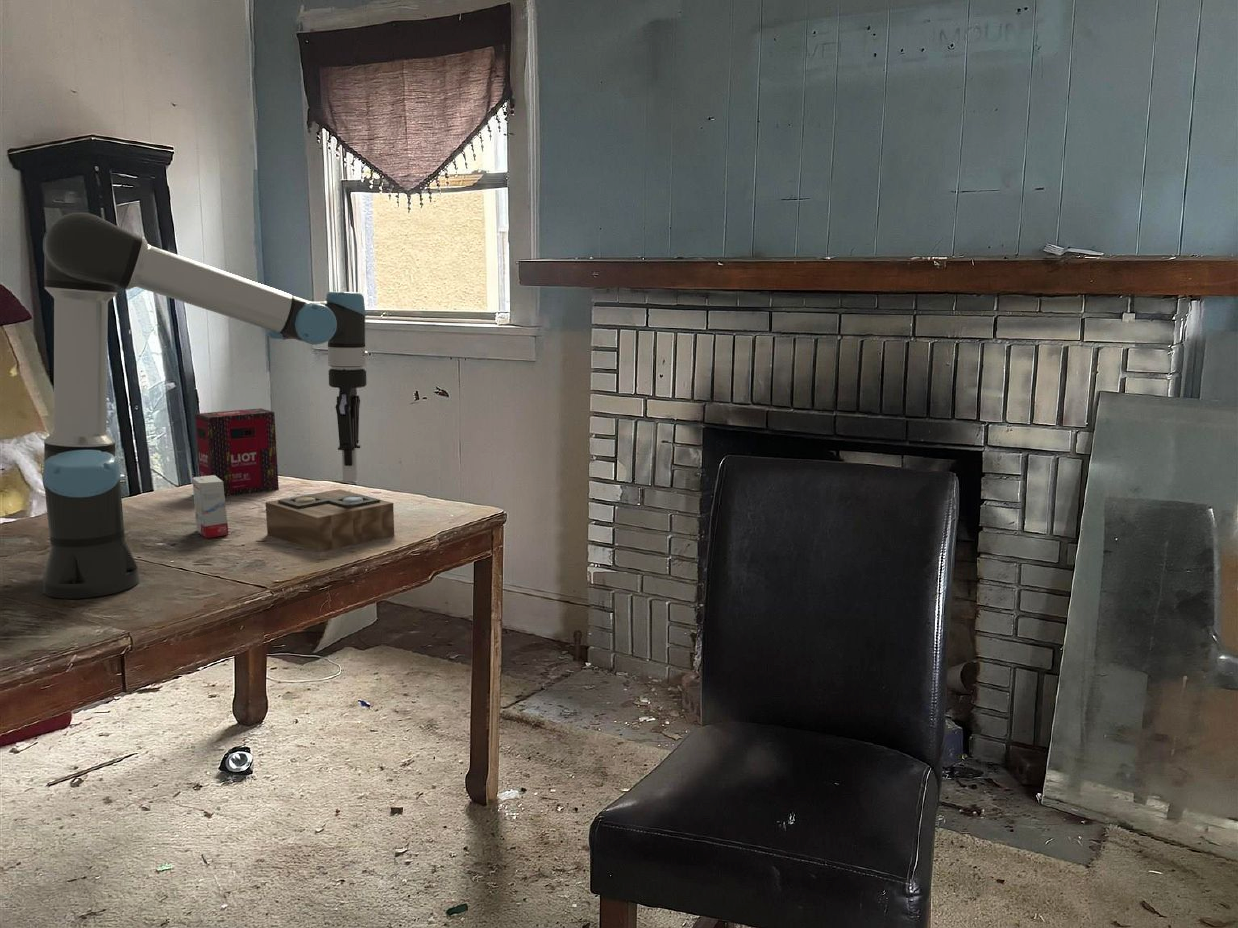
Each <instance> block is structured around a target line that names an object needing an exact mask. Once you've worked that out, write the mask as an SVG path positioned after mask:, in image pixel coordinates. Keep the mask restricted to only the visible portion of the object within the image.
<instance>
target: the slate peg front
mask: <svg viewBox="0 0 1238 928" xmlns="http://www.w3.org/2000/svg"><path fill="white" fill-rule="evenodd" d="M360 501H363V498H361V497H348V498H344V499H343V502H346V503H355V502H360Z"/></svg>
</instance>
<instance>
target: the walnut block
mask: <svg viewBox="0 0 1238 928" xmlns="http://www.w3.org/2000/svg"><path fill="white" fill-rule="evenodd" d="M303 497H312V498H315V501H313V502H308V503H302V504H300V503H297V502H296V501H295V500H296V499H298V498H303ZM348 497H361V498H363V501H360V502H355V503H346V502H343V499H344V498H348ZM394 510H395V509H394V502H392V501H391V502H390V501H387V500H382V499H380V498H375V497H372V496H368V495H366V494H365V495H364V494H360V493H356V492H353V491H349V490H344V489H340V488H338V489H333V490H328V491H327V490H326V491H321V492H316V493H315V492H314V493H311V494H305V495H300V496H299V495H298V496H293V497H289V498H288V497H287V498H281V499H276V500H270V501H265V513H266V514H265V515H266V531H267V535H268V536H271V537H274V538H278V539H280V540H283V541H286V542H289V543H291V544H295V545H298V546H301V547H303V548H306V549H309V550H313V551H315V552H318V553H321V552H326V551H329V550H335V549H339V548H342V547H348V546H352V545H357V544H361V543H365V542H369V541H374V540H380V539H382V538H387V537H393V536H395V515H394Z"/></svg>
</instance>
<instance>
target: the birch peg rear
mask: <svg viewBox="0 0 1238 928" xmlns="http://www.w3.org/2000/svg"><path fill="white" fill-rule="evenodd" d="M295 501H296V502H297V503H300V504H302V503H308V502H313V501H315V498H312V497H303V498H298V499H296V500H295Z"/></svg>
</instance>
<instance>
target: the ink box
mask: <svg viewBox="0 0 1238 928" xmlns="http://www.w3.org/2000/svg"><path fill="white" fill-rule="evenodd" d="M191 480H192V489H193V490H192V493H193V502H194V503H193V505H194V514H195V516H194V517H195V525H196V526H195V527H196V531H197V532H198V533H199V534H200V535H202V536H203V537H204V538H206V539H209V538H216V537H222V536H228V535H229V533H230V532H229V526H228V515H227V509H226V508H227V507H226V499H225V498H226V497H225V496H224V486H223V481H222V480H220V479H219V478H218V477H216V476H215V475H211V476H201V477H200V476H194V477H192V478H191Z"/></svg>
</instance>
